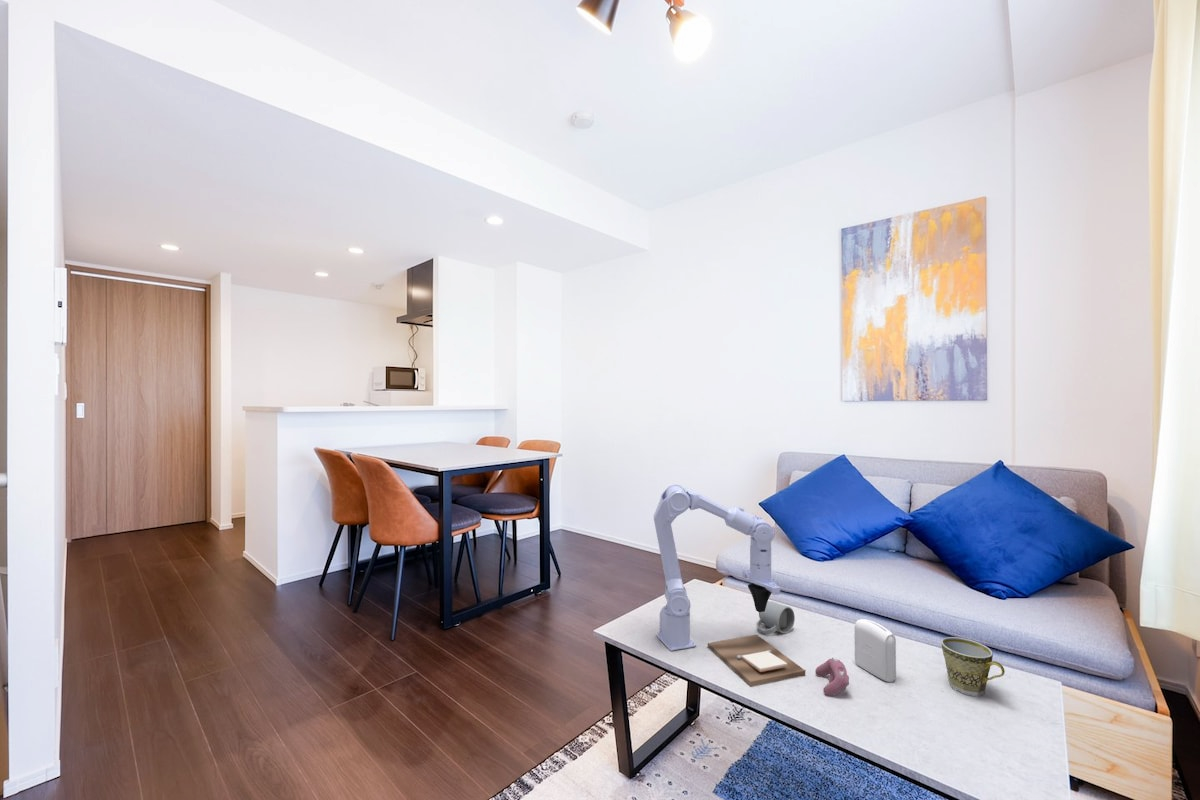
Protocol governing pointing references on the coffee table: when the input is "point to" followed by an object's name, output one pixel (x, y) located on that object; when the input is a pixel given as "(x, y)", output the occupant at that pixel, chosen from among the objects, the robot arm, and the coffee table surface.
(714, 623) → the coffee table surface
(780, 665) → the hinged panel
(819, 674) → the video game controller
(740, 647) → the board
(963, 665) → the ceramic cup
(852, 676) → the coffee table surface
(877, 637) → the photo printer
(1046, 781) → the coffee table surface
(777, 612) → the ceramic mug
